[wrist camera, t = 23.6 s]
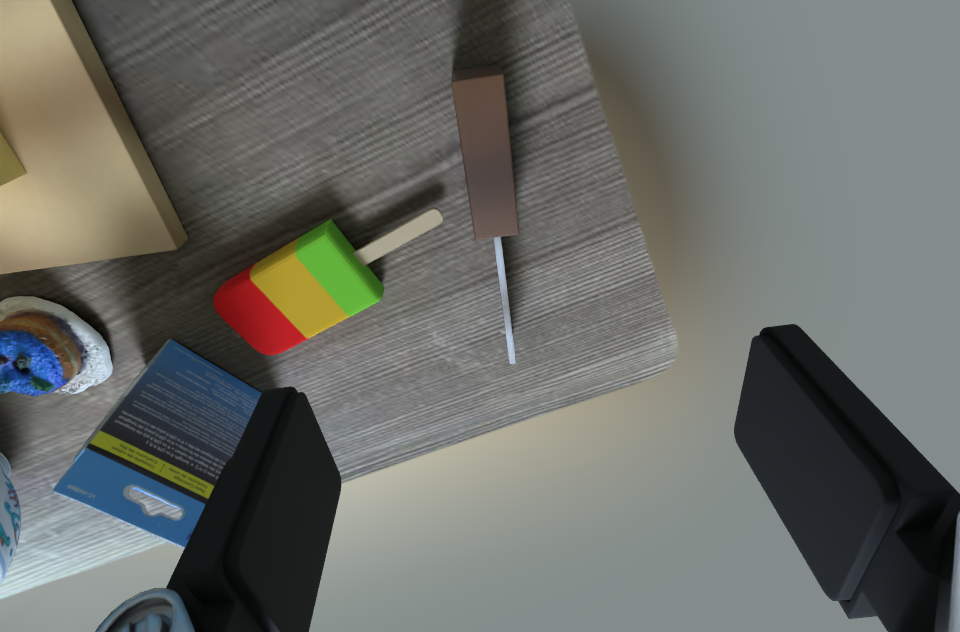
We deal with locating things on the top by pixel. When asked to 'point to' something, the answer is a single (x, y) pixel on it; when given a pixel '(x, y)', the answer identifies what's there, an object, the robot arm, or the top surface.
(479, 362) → the top surface
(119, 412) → the label tape box
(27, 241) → the cutting board
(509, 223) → the knife
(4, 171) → the butter block
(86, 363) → the dessert
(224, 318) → the popsicle
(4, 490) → the chinaware
